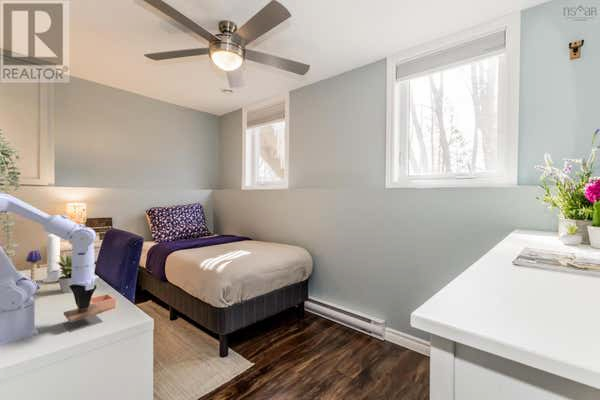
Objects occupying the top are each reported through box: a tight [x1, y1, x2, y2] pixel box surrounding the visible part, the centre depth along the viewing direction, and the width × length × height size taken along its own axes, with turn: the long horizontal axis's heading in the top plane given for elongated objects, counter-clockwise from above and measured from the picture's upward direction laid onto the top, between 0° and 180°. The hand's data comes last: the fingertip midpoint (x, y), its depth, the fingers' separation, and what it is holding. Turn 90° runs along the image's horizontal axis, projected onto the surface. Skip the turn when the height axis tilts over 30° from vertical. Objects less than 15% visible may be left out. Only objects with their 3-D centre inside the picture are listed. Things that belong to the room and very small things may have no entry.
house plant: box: [50, 254, 73, 294], centre depth 113 cm, size 14×14×16 cm
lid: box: [63, 304, 103, 322], centre depth 85 cm, size 8×8×6 cm
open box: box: [89, 293, 116, 313], centre depth 96 cm, size 7×7×4 cm
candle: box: [43, 233, 61, 284], centre depth 126 cm, size 7×7×25 cm
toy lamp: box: [25, 250, 42, 290], centre depth 114 cm, size 5×5×17 cm
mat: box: [62, 314, 104, 333], centre depth 85 cm, size 8×8×1 cm
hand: (82, 306), depth 85 cm, fingers closed on lid, 3 cm apart
